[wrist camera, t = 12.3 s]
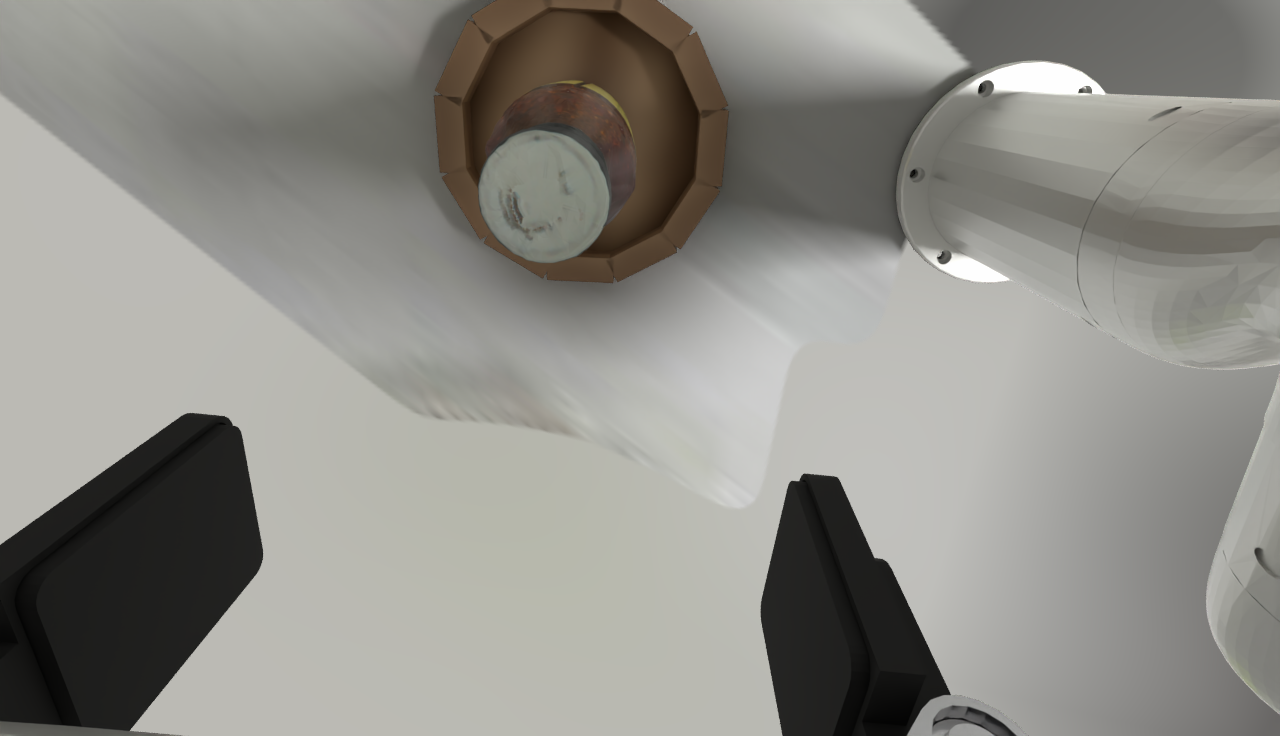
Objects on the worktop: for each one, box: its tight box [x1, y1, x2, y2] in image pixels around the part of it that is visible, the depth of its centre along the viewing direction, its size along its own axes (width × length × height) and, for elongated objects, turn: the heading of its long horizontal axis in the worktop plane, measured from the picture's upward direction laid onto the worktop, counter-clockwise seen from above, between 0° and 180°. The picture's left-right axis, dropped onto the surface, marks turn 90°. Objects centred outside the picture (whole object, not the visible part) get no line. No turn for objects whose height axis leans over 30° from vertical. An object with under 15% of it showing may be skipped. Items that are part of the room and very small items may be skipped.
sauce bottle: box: [478, 80, 637, 263], centre depth 28 cm, size 6×6×20 cm
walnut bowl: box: [434, 0, 729, 283], centre depth 37 cm, size 16×16×3 cm
